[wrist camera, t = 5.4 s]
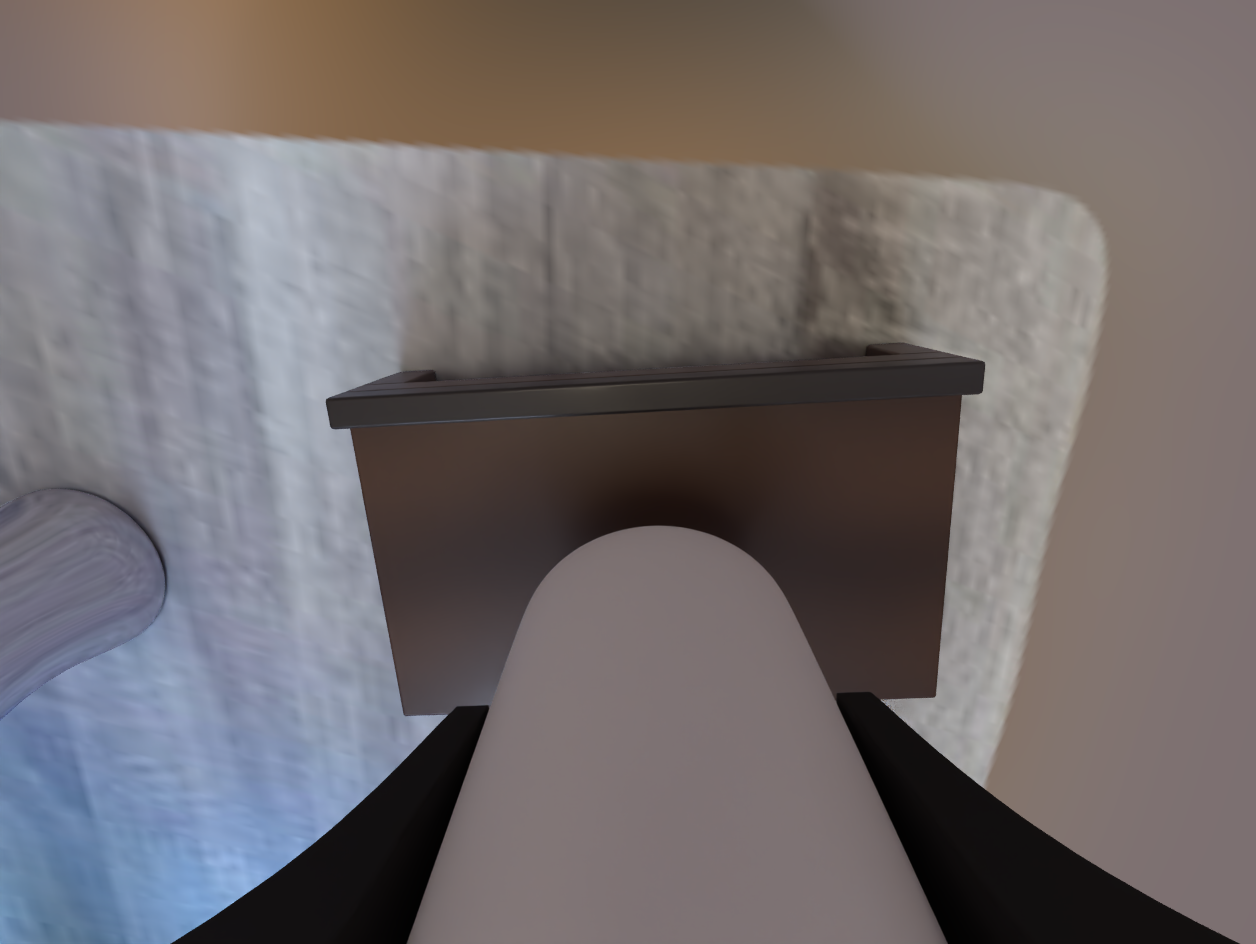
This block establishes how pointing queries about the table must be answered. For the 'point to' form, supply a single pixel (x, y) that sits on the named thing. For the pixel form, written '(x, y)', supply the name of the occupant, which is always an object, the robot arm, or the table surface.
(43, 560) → the beer glass
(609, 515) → the desk shelf
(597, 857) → the can
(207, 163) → the table surface
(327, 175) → the table surface
